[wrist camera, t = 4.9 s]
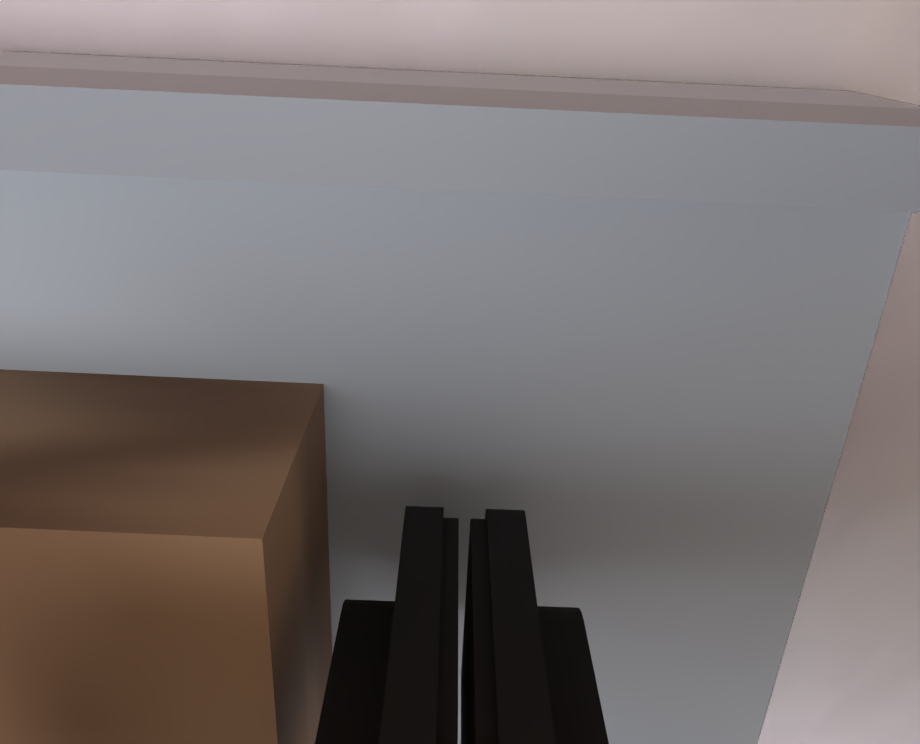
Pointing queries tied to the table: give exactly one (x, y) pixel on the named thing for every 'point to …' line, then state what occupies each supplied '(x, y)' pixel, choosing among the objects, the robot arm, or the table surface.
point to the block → (162, 560)
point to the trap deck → (494, 317)
